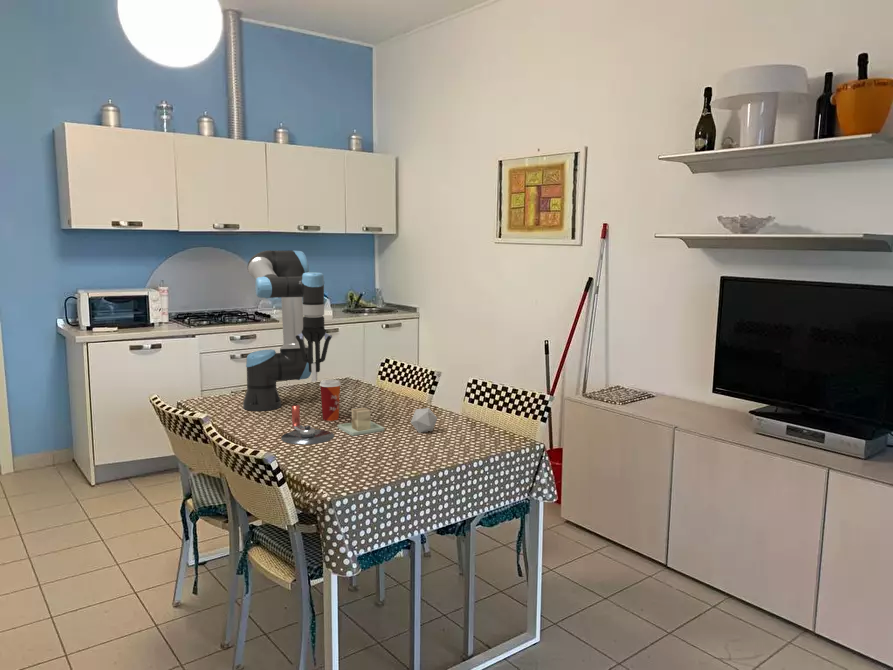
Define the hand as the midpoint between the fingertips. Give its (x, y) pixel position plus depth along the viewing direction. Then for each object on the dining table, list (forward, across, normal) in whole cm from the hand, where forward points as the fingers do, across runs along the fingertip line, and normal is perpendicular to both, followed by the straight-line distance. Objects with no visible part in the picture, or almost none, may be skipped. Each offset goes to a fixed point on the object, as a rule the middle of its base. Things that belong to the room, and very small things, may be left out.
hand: (314, 380), depth 243 cm
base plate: (+18, 0, +11) cm, 21 cm away
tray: (+18, -17, 0) cm, 25 cm away
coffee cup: (+19, -3, -14) cm, 24 cm away
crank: (+17, +3, +7) cm, 19 cm away
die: (+18, -40, 0) cm, 44 cm away
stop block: (+17, -17, 0) cm, 24 cm away
